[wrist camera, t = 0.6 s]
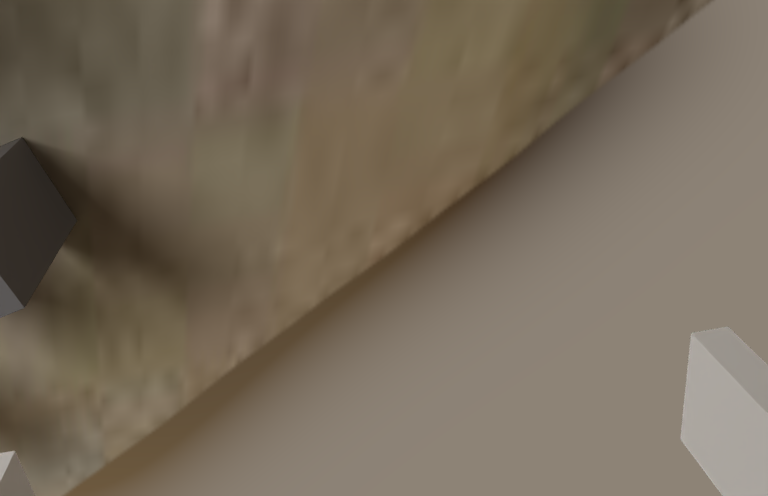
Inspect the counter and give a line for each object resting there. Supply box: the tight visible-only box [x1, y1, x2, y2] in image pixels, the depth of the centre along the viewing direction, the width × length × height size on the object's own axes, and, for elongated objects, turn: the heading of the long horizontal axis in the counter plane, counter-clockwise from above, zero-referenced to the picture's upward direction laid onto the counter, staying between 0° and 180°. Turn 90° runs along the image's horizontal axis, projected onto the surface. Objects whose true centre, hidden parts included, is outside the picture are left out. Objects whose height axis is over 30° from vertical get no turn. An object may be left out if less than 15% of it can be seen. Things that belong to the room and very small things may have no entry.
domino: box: [0, 137, 77, 318], centre depth 33 cm, size 5×2×9 cm, turn 21°
